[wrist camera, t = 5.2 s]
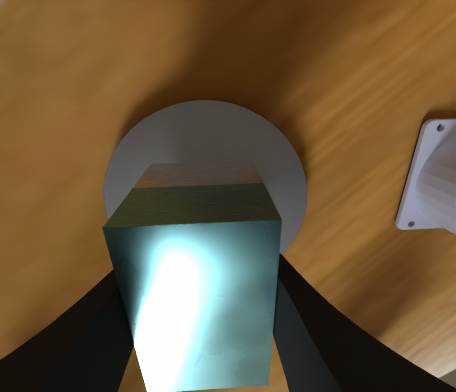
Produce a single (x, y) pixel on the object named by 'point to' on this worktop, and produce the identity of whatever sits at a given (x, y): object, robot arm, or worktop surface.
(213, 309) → the block
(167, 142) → the slate stand
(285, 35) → the worktop surface
